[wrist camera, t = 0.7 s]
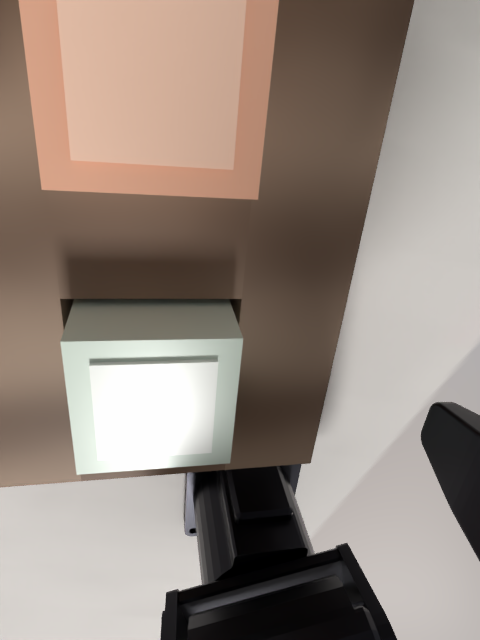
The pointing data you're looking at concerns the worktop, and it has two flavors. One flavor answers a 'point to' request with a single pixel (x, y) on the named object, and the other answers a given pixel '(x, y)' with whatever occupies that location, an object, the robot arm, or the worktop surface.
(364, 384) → the worktop surface
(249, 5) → the terracotta key
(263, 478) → the robot arm
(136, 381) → the sage key
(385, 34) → the key console
